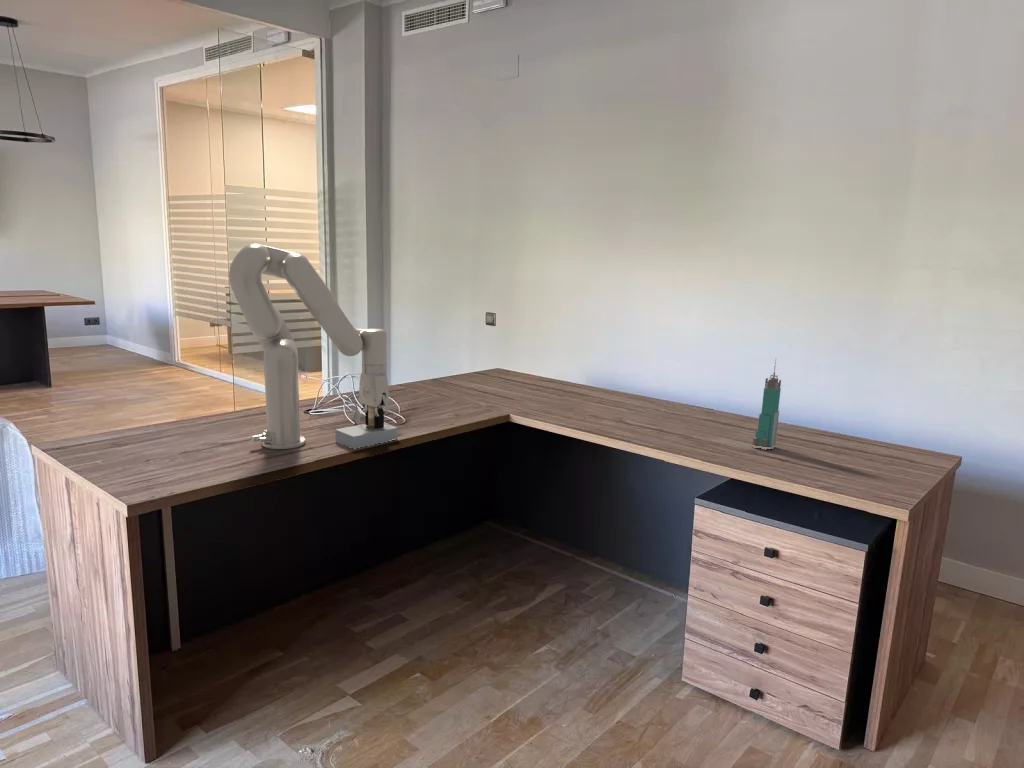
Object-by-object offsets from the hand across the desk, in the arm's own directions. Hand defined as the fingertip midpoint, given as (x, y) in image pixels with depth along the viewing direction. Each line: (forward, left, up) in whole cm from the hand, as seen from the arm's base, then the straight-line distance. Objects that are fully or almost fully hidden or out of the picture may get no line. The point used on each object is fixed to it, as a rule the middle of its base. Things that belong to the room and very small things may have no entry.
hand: (374, 425), depth 221 cm
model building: (+13, +25, -5) cm, 29 cm away
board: (-3, 0, -5) cm, 5 cm away
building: (+91, -85, -5) cm, 125 cm away
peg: (0, 0, -4) cm, 4 cm away
